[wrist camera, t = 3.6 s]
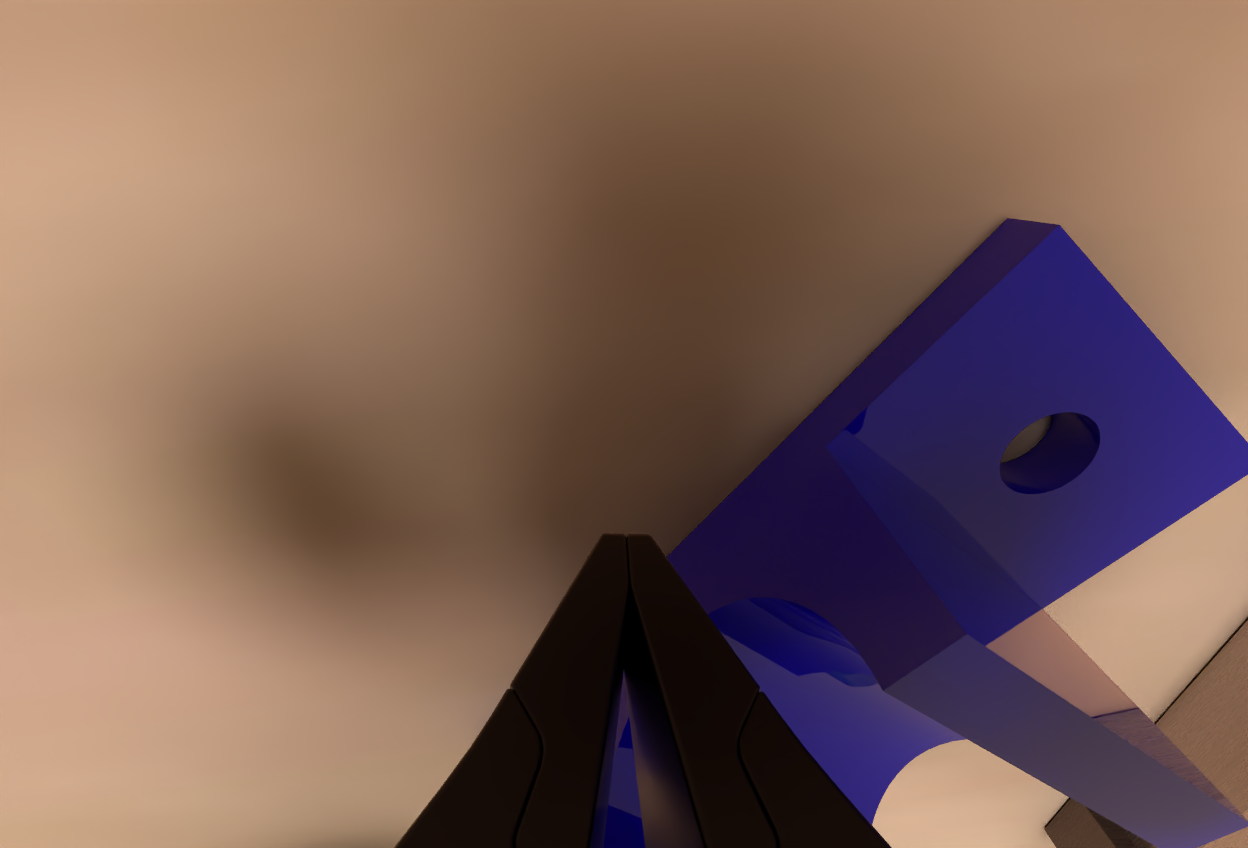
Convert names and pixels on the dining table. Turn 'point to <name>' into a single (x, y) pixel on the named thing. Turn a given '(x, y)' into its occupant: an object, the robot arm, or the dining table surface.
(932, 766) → the dining table surface
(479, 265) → the dining table surface
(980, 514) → the mounting bracket
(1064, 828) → the rail
